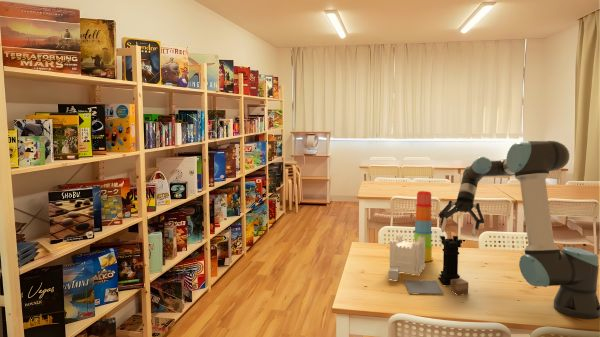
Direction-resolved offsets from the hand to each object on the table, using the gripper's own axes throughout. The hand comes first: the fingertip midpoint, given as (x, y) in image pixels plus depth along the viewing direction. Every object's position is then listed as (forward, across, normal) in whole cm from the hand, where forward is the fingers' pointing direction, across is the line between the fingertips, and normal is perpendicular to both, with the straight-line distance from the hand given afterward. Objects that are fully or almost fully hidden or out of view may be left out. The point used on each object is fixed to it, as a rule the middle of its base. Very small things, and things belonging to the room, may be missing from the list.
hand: (457, 232), depth 202 cm
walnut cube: (+28, -6, 0) cm, 29 cm away
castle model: (+18, +22, -11) cm, 30 cm away
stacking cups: (+5, +20, -24) cm, 31 cm away
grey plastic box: (+28, +22, 0) cm, 36 cm away
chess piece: (+22, 0, -6) cm, 23 cm away
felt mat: (+30, +8, +2) cm, 32 cm away
